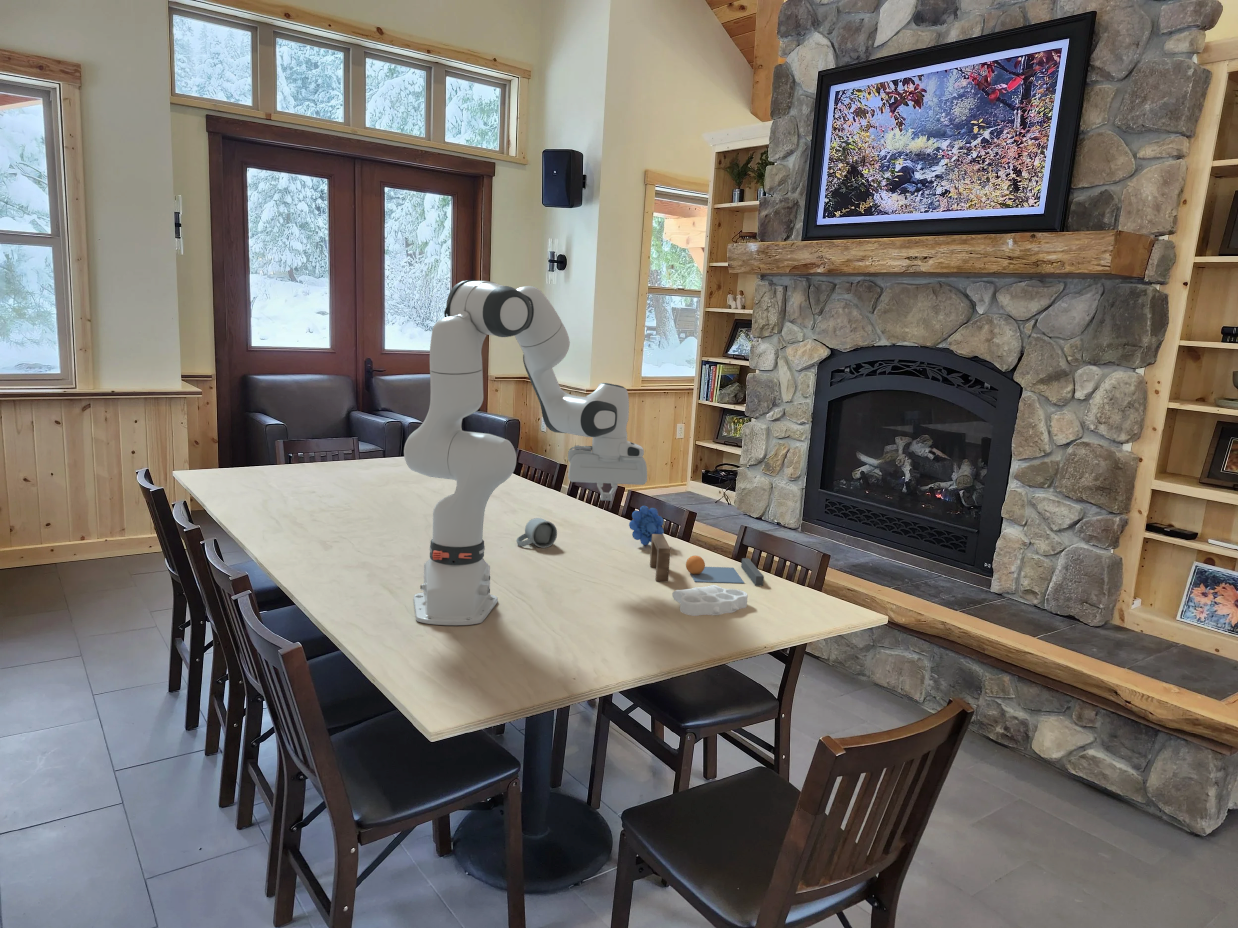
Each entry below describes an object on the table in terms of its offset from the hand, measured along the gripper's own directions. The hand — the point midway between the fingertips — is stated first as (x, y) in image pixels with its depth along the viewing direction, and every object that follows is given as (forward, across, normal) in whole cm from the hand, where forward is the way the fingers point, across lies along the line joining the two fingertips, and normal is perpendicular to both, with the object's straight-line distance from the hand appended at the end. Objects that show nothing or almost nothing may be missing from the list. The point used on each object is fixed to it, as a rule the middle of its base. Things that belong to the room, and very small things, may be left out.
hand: (606, 499), depth 215 cm
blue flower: (+19, +15, +26) cm, 36 cm away
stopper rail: (+19, +40, 0) cm, 44 cm away
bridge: (+19, +15, 0) cm, 24 cm away
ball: (+17, +25, 0) cm, 30 cm away
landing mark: (+19, +30, 0) cm, 36 cm away
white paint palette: (+20, +24, -24) cm, 39 cm away
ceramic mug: (+20, -18, +23) cm, 35 cm away
